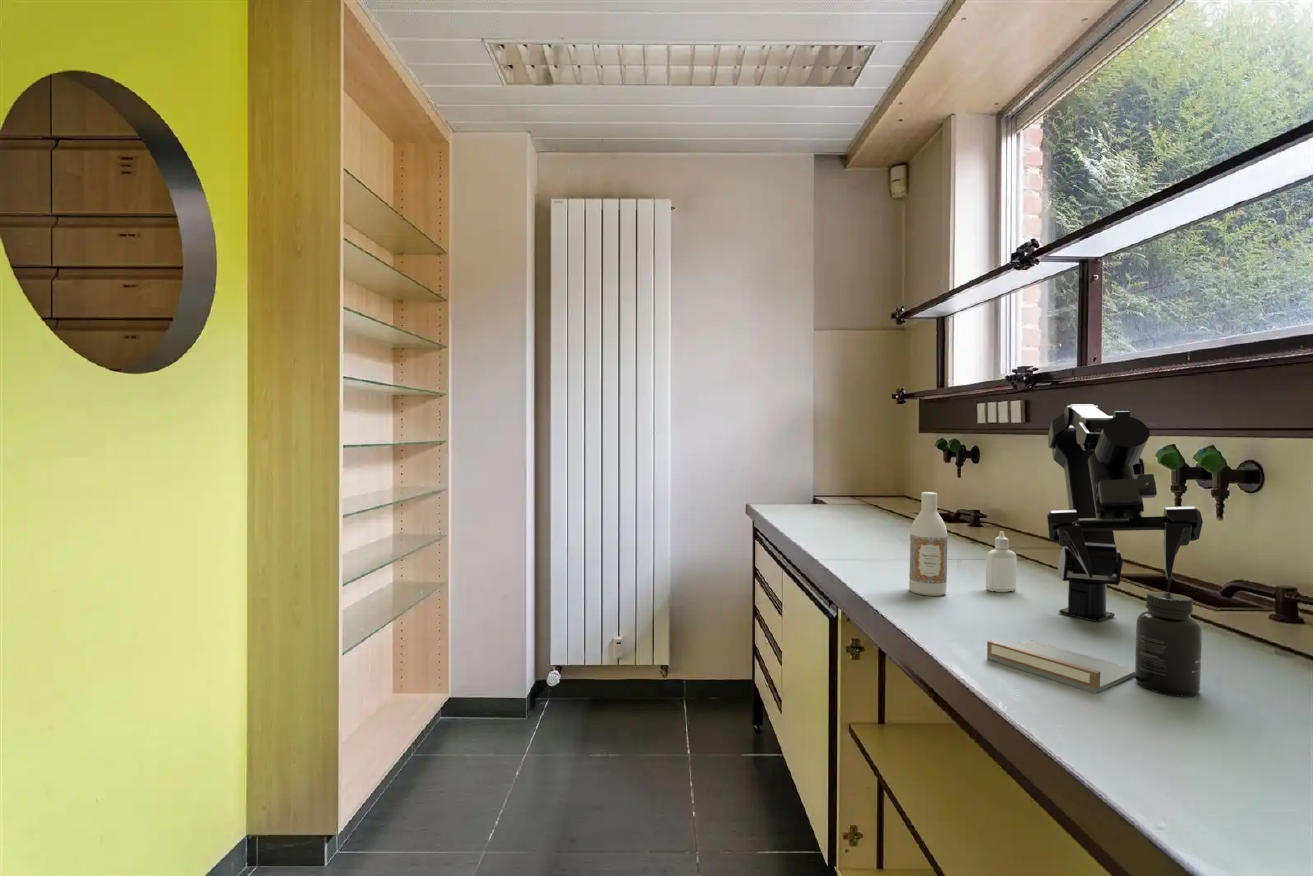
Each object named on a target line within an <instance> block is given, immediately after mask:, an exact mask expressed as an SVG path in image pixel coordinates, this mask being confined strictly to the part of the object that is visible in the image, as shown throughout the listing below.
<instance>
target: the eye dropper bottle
mask: <svg viewBox="0 0 1313 876" xmlns="http://www.w3.org/2000/svg"><path fill="white" fill-rule="evenodd" d="M985 559H986V560H985V561H986V563H985V565H986V567H985V589H986V590H988V591H990V592H993V591H996V592H995V593H1009V592H1008V591H1012V592H1015V591H1016V589H1017V554H1016V553H1015V552H1014V551H1012V550H1010V549H1009V538H1008V537H1006V536H1005V532H1004V531H1003V530H1001V531H999V534H998V536H997V537H995V539H994V548H993V549H992V550H990V551H988V552H987V553H986V558H985ZM1006 591H1007V592H1006Z"/></svg>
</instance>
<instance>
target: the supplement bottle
mask: <svg viewBox="0 0 1313 876" xmlns="http://www.w3.org/2000/svg"><path fill="white" fill-rule="evenodd" d="M1193 603H1194V600H1193V598H1191V597H1189V596H1186V595H1183V594H1179V593H1178V594H1177V593H1172V592H1164V591H1149V592H1147V593H1146V602H1145V604H1144V605H1145V608H1147V611H1144V612H1142V613H1141V614H1139V615H1138V616H1137V619H1136V623H1135V625H1136V626H1135V627H1136V628H1135V631H1136V632H1135V658H1134V659H1135V662H1134V664H1135V665H1134V669H1135V676H1134V678H1135V681H1136V682H1137V684H1139V685H1140V686H1141V687H1143V688H1144V689H1148V690H1150V691H1152V692H1156V693H1159V694H1163V695H1169V696H1173V697H1174V696H1175V697H1194V696H1196V695H1198V694H1199V693H1200V690H1201V677H1202V676H1201V675H1202V671H1201V670H1202V649H1203V648H1202V647H1203V646H1202V645H1203V628H1202V626H1201V625H1200V623H1199V622H1198V621H1196V620H1195V619H1194V618H1192V617H1191V615H1194V608H1193V606H1194V605H1193Z"/></svg>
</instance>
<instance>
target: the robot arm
mask: <svg viewBox="0 0 1313 876" xmlns="http://www.w3.org/2000/svg"><path fill="white" fill-rule="evenodd" d="M1150 433H1151V432H1150V428H1149V427H1148V426H1147V425H1146V424H1145V423H1144V422H1143V421H1141V420H1140V419H1138V418H1135V417H1132V416H1131V411H1128V410H1126V411H1125V410H1124V411H1123V410H1121V411H1120V410H1116V411H1115V410H1114V412H1113V414H1112V415H1108V414H1106V413H1104V412H1103V411H1102V410H1101V409H1099V406H1098V405H1095V404H1091V403H1089V404H1086V403H1085V404H1081V403H1080V404H1079V403H1078V404H1076V403H1075V404H1074V403H1073V404H1070V405H1066V407H1065V408H1064V412H1063V413H1062V414H1061V415H1059V416H1057V417H1056V418H1055V419H1053V420H1052V421H1051V423H1050V427H1049V430H1048V435H1047V444H1048V445H1047V446H1048V449H1051V453H1052V458H1053V460H1054V461H1055V462H1056V463H1057V464H1058V465H1059V466H1060V467H1061V468H1063V472H1064V479H1065V486H1066V487H1065V488H1066V493H1067V501H1068V508H1069V509H1063V510H1062V509H1058V510H1050V511H1049V512H1048V513H1047V515H1046V517H1047V526H1048V528H1047V529H1048V537H1049V538H1048V539H1049V542H1051V543H1058V544H1059V546H1060V547H1061V551H1060V556H1059V558H1058V562H1057V575H1058V577H1059V579H1060V580H1061V581H1062V582H1068V594H1067V607H1065V608H1062V609H1059V610H1058V612H1059V614H1063V615H1067V616H1072V617H1076V618H1081V619H1085V620H1089V621H1093V622H1102V621H1104V620H1107V619H1109V618H1110V619H1111V618H1113V617H1115V613H1114V612H1110V611H1107V590H1108V589H1107V585H1114V586H1119V585H1120V584H1121V575H1122V570H1123V566H1124V563H1125V558H1123V557H1122V555H1121V551H1120V550H1118V549H1117V546H1116V542H1115V541H1116V540H1115V535H1114V534H1115V533H1114V532H1116V531H1118V532H1120V531H1121V532H1122V531H1125V532H1126V531H1128V532H1129V531H1162V532H1163V536H1164V538H1163V558H1164V560H1163V561H1164V574H1165V576H1166V580H1172V574H1173V570H1174V569H1173V568H1174V563H1175V559H1176V556H1177V555H1178V552H1179V549H1180V547H1183V546H1188V545H1190V542H1192V541H1193V542H1194V541H1197V540H1199V539H1200V536H1201V532H1202V528H1203V524H1204V521H1203V516H1202V513H1201V511H1200V510H1199V509H1198V508H1197V507H1195V506H1194V505H1193V506H1192V505H1191V506H1190V505H1189V506H1164V509H1163V516H1162V515H1161V516H1160V515H1159V516H1143V513H1144V510H1145V506H1144V501H1143V500H1144V499H1149V498H1150V499H1151V498H1156V496H1157V495H1158V492H1157V486H1156V485H1157V484H1156V480H1155V475H1154V473H1146V474H1144V473H1143V474H1141V473H1140V474H1138V476H1137V477H1136V475H1135V472H1134V471H1135V470H1134V465H1136V464H1137V463H1138V462H1139V461H1140V458H1141V455H1142V454H1143V451H1144V450H1145V447H1146V445H1147V442H1148V440H1149V437H1150V435H1151V434H1150Z"/></svg>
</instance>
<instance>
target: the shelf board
mask: <svg viewBox="0 0 1313 876" xmlns="http://www.w3.org/2000/svg"><path fill="white" fill-rule="evenodd" d="M986 645H987V649H986V651H987V652H986V659H987V660H989V659H990V661H992V660H993V661H992V662H995V661H996V662H995V663H998V664H1002V665H1005V666H1008V667H1011V668H1015V669H1017V668H1018V670H1020V669H1021V670H1020V671H1024V672H1027V673H1030V674H1033V675H1036V676H1040V677H1043V678H1046V679H1049V680H1053V681H1056V682H1059V683H1062V684H1065V685H1068V686H1072V687H1074V688H1078V689H1081V690H1084V691H1087V692H1091V693H1094V694H1098V693H1100V692H1102V691H1104V690H1106V689H1107V690H1108V689H1109V688H1111V687H1113V686H1116V685H1117V684H1120V683H1122V682H1124V681H1127V680H1129V679H1132V678H1133V677H1134V678H1135V667H1134V668H1133V667H1130V666H1126V665H1123V664H1118V663H1115V662H1111V661H1108V660H1104V659H1100V658H1097V657H1093V656H1090V655H1086V654H1083V653H1079V652H1076V651H1071V650H1068V649H1064V648H1059V647H1056V646H1053V645H1050V644H1046V643H1043V642H1039V641H1036V640H1035V641H1034V640H1032V639H1031V640H1028V641H1025V642H1022V643H1020V644H1019V643H1018V644H1016V645H1009V644H1007V643H1003V642H1000V641H997V640H992V639H990V640H987V644H986Z"/></svg>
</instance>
